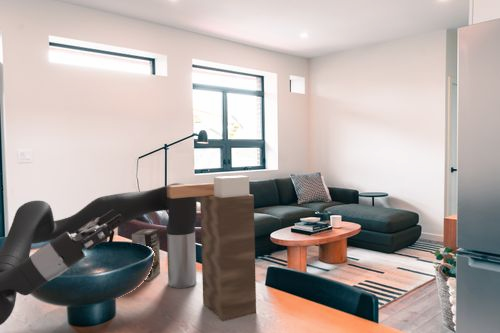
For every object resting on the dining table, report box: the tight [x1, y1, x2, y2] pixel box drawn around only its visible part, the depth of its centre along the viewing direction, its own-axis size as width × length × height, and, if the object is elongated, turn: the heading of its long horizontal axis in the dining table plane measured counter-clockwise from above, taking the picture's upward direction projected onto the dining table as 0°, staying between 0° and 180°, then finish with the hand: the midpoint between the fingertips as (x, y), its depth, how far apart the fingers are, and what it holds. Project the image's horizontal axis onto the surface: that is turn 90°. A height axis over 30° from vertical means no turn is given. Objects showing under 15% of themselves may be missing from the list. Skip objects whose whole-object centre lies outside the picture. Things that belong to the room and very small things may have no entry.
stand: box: [199, 193, 257, 322], centre depth 111 cm, size 13×10×32 cm
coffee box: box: [131, 228, 161, 281], centre depth 141 cm, size 9×6×16 cm
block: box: [213, 175, 250, 198], centre depth 107 cm, size 5×8×5 cm, turn 119°
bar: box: [166, 182, 214, 199], centre depth 110 cm, size 5×20×3 cm, turn 119°
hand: (119, 214), depth 99 cm, fingers open, 8 cm apart
